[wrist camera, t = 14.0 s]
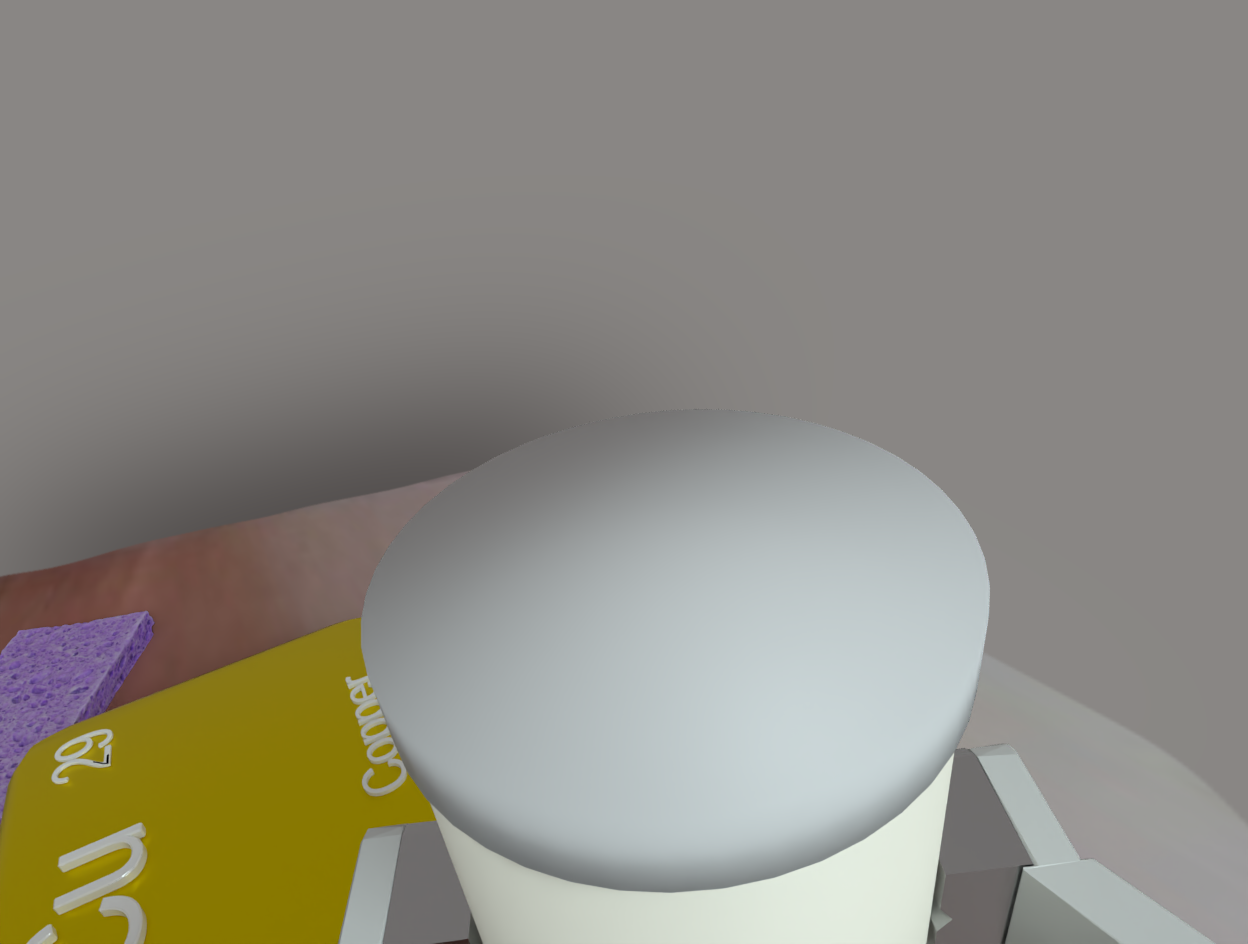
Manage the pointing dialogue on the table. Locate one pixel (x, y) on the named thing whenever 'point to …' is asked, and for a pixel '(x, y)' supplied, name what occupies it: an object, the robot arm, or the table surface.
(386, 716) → the tin
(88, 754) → the element tile
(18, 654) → the sponges
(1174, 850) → the table surface
